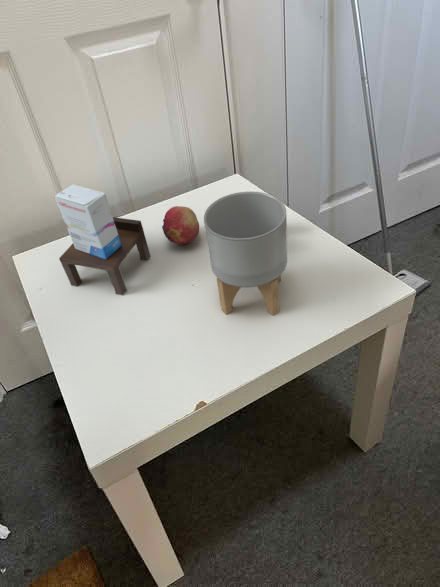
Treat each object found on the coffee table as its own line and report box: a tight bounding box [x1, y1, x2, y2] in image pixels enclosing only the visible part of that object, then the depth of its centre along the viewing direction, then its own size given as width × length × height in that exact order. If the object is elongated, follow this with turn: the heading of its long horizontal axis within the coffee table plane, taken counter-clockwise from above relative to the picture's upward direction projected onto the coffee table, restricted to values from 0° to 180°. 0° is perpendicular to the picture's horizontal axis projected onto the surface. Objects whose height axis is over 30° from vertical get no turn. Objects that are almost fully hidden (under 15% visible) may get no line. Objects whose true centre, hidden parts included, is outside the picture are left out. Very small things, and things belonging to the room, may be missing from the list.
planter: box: [203, 191, 288, 316], centre depth 78 cm, size 13×13×18 cm
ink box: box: [54, 183, 122, 259], centre depth 84 cm, size 9×5×12 cm, turn 58°
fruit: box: [161, 205, 200, 246], centre depth 95 cm, size 8×8×8 cm
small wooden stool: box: [58, 216, 151, 296], centre depth 91 cm, size 12×12×9 cm
